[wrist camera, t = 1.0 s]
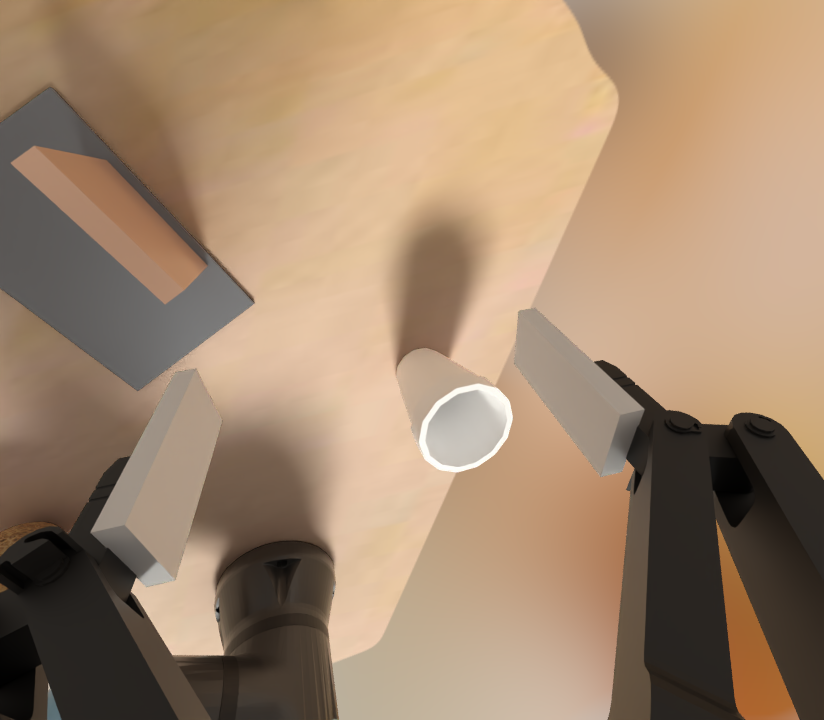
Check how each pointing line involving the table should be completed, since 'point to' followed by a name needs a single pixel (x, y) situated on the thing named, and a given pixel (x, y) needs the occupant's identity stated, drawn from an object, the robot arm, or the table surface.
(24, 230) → the felt mat
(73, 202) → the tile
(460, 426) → the foam cup
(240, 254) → the table surface
